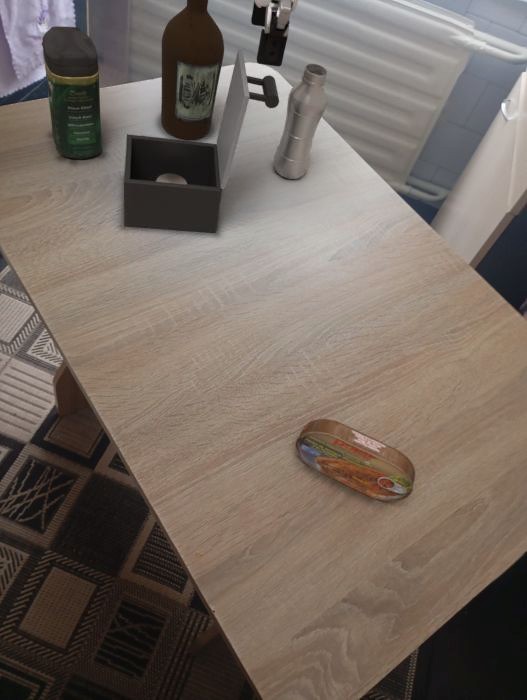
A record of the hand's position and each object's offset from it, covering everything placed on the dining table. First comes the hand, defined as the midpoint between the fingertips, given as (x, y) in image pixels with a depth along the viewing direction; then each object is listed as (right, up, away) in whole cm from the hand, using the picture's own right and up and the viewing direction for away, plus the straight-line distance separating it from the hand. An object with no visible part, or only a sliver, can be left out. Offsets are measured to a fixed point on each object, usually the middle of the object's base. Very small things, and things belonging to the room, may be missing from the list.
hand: (265, 43), depth 74 cm
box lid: (-5, -7, +9) cm, 12 cm away
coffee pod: (-16, -16, +20) cm, 30 cm away
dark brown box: (-16, -16, +21) cm, 31 cm away
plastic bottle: (+4, -7, +32) cm, 33 cm away
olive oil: (-15, +3, +34) cm, 38 cm away
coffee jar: (-33, -4, +25) cm, 42 cm away
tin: (+10, -56, -1) cm, 57 cm away
